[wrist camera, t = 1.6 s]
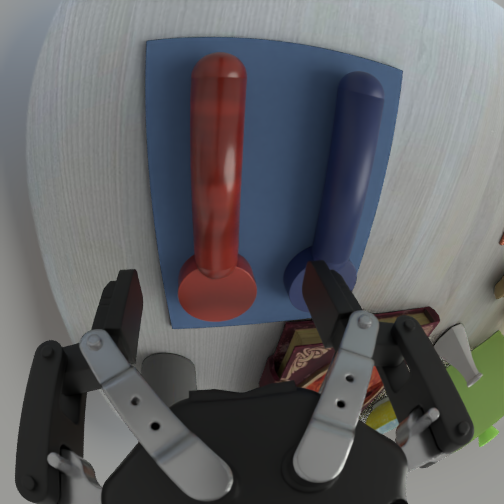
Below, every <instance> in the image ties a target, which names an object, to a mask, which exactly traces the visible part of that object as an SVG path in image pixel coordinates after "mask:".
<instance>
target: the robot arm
mask: <svg viewBox="0 0 504 504" xmlns="http://www.w3.org/2000/svg"><path fill="white" fill-rule="evenodd" d="M302 295H303V298H304V301H305V303H306V305H307V308H308V310H309V312H310V315H311V317H312V319H313V322H314V324H315V326H316V329H317V331H318V333H319V336H320V338H321V340H322V343H323V345H324V347H325V349H326V348H332V347H333V348H334V350H335V352H334V355H333V357H332V360H331V362H330V365H329V367H328V370H327V372H326V375H325V377H324V380H323V382H322V384H321V386H320V389H319V391H318V392H315V391H313V390H310V389H306V388H301V387H296V385H295V381H294V380H291V381H285V382H278V383H271V384H267V385H264V386H262V387H259V388H256V389H254V390H251V391H248V392H245V393H239V392H231V391H224V390H217V389H212V390H193V391H189V398H186V399H183V400H181V401H178V402H176V403H175V404H173V405H171V406H170V407H169V408H168V407H167V405H166V404H165V403H164V402H163V401H162V400H161V399H160V397H159V396H158V395H157V394H156V393H155V392H154V390H153V389H152V388H151V387H150V385H149V384H148V383H147V382H146V381H145V379H144V378H143V377H142V376H141V374H140V373H139V372H138V370H137V369H136V368H135V367H134V366H131V365H130V364H136V355H137V346H138V338H139V331H140V323H141V317H142V310H143V296H142V291H141V287H140V283H139V279H138V274H137V271H136V269H130V270H120V271H119V274H118V277H117V280H116V281H110V282H109V283H108V284H107V286H106V287H105V288H104V290H103V293H102V296H101V299H100V302H99V306H98V308H97V312H96V315H95V319H94V322H93V326H92V329H91V330H90V331H88V332H87V333H85V334H84V335H83V336H82V338H81V340H80V343H77V344H74V345H70V346H66V347H61V345H60V344H59V343H58V342H57V341H53V340H49V341H46V342H44V343H42V344H41V345H40V346H39V347H38V348H37V350H36V352H35V355H34V359H33V363H32V366H31V370H30V374H29V378H28V383H27V387H26V392H25V397H24V402H23V408H22V413H21V419H20V426H19V434H18V443H17V452H16V468H15V483H16V487H17V489H18V491H19V493H20V494H21V495H22V496H23V497H24V498H25V499H26V500H28V501H30V502H33V503H36V504H408V503H407V499H406V479H407V472H410V471H412V470H414V469H416V468H418V467H419V468H426V467H429V466H431V465H433V464H434V463H436V462H438V461H440V460H442V459H443V458H445V457H447V456H448V455H450V454H452V453H454V452H455V451H457V450H458V449H460V448H462V447H463V446H465V445H466V444H468V443H469V442H470V441H471V440H472V438H473V435H474V425H473V422H472V420H471V418H470V416H469V413H468V411H467V409H466V407H465V405H464V403H463V401H462V399H461V397H460V395H459V393H458V391H457V389H456V387H455V385H454V383H453V381H452V379H451V377H450V375H449V373H448V372H447V370H446V368H445V366H444V364H443V362H442V361H441V359H440V357H439V355H438V354H437V352H436V350H435V348H434V347H433V345H432V343H431V342H430V340H429V338H428V336H427V335H426V333H425V332H424V330H423V328H422V327H421V325H420V323H419V322H418V321H417V320H416V319H415V318H413V317H411V316H408V315H401V316H399V317H397V319H396V320H395V322H394V323H388V322H380V321H378V319H377V318H376V317H375V316H374V315H373V314H372V313H370V312H367V311H363V310H362V308H361V306H360V305H359V303H358V301H357V300H356V298H355V297H354V295H353V293H352V292H351V290H350V288H349V287H348V285H346V282H345V280H344V279H343V277H342V276H341V275H340V274H339V273H338V272H336V271H335V270H330V269H329V267H328V266H327V264H326V263H325V261H324V260H314V261H308V262H307V265H306V269H305V274H304V279H303V284H302ZM403 359H405V361H406V363H407V365H408V367H409V370H410V372H409V370H408V368H407V366H406V364H405V362H404V360H403ZM373 366H376V369H377V371H378V373H379V376H380V378H381V380H382V383H383V385H384V388H385V390H386V392H387V395H388V397H389V400H390V402H391V405H392V407H393V410H394V412H395V415H396V418H397V420H398V423H399V425H398V426H397V429H396V439H395V441H396V443H395V442H394V441H392V440H391V439H389V438H388V437H386V436H384V435H383V434H381V433H379V432H378V431H376V430H375V429H373V428H371V427H370V426H368V425H367V424H365V423H363V422H362V421H360V420H359V416H360V413H361V409H362V406H363V403H364V400H365V396H366V393H367V389H368V386H369V382H370V378H371V374H372V370H373ZM101 388H102V390H103V391H104V393H105V394H106V396H107V397H108V399H109V400H110V402H111V403H112V405H113V406H114V408H115V409H116V411H117V412H118V414H119V415H120V417H121V418H122V419H123V421H124V422H125V424H126V425H127V426H128V428H129V429H130V430H131V432H132V433H133V434H134V436H135V437H136V438H137V440H138V441H139V442H138V444H137V445H136V446H135V447H134V448H133V450H132V451H131V452H130V453H129V454H128V455H127V457H126V458H125V459H124V460H123V461H122V462H121V464H120V465H119V466H118V467H117V468H116V470H115V471H114V472H113V473H112V474H111V475H110V476H109V478H108V479H107V480H106V481H105V483H104V485H103V488H102V487H101V486H100V485H99V483H98V482H97V480H96V476H95V471H94V469H93V467H92V466H91V464H90V463H89V462H87V461H86V460H85V459H83V446H84V421H85V408H86V397H87V392H89V391H93V390H97V389H101Z"/></svg>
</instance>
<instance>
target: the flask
mask: <svg viewBox="0 0 504 504" xmlns="http://www.w3.org/2000/svg"><path fill="white" fill-rule="evenodd" d="M434 348H435V350H436V352H437V354H438V355H439V356H440V357H441V358H443V359H444V360H446V361H447V362H448V363H449V364H451V365H452V366H453V367H455V368H456V369H457V370H458V371H459V372H460V373H461V374H462V376H463V377H464V378H465V380H466V382H467V387H470V386H472V385H473V384H474V383H476V382H477V381H478V380H479V379H480V378H481V377H482V376H483V375H482V374H481V373H479V371H478V370H477V368H476V366H475V363H474V361H473V358H472V354H471V351H470V347H469V343H468V339H467V335H466V331H465V327H464V326H463V324H459V325H457V326H454V327H452V328H451V329H449V330H448V331H447V332H446V333H445V334H444V335H443V336H442V337H441V338H440V339H439V340H438V341H437V343H436V344H435V345H434Z"/></svg>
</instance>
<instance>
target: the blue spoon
mask: <svg viewBox="0 0 504 504" xmlns="http://www.w3.org/2000/svg"><path fill="white" fill-rule="evenodd" d="M384 97H385V94H384V89H383V87H382V85H381V83H380V82H379V81H378V79H377V78H376V77H374V76H373V75H371V74H369V73H367V72H363V71H354V72H350V73H348V74H346V75H345V76H344V77H343V78H342V79H341V80H340V82H339V84H338V89H337V97H336V106H335V114H334V121H333V129H332V136H331V143H330V150H329V156H328V163H327V169H326V175H325V181H324V187H323V193H322V198H321V204H320V209H319V215H318V220H317V225H316V230H315V236H314V240H313V245H312V246H311V247H308V248H306V249H304V250H303V251H301V252H300V253H298V254H297V255H296V256H295V257H294V258H293V259H292V260H291V261H290V262H289V264H288V265H287V267H286V269H285V272H284V276H283V282H284V286H285V289H286V291H287V294H288V297H289V299H290V302H291V304H292V305H293V306H294V307H295V308H296V309H298V310H300V311H303V312H307V313H310V312H309V310H308V308H307V305H306V303H305V301H304V298H303V295H302V284H303V279H304V274H305V269H306V265H307V262H308V261H314V260H324V261H325V263H326V264H327V266H328V267H329V269H330V270H335V271H336V272H338V273H339V274H340V275H341V276H342V277H343V279H344V280H345V282H346V285H348V287H349V288H350V290H351V291H352V290H353V288H354V286H355V283H356V279H357V272H356V269H355V267H354V265H353V264H352V262H351V261H350V259H349V258H350V254H351V251H352V248H353V244H354V241H355V237H356V233H357V230H358V226H359V222H360V218H361V215H362V211H363V207H364V203H365V198H366V194H367V190H368V186H369V181H370V177H371V172H372V167H373V163H374V158H375V153H376V147H377V142H378V136H379V131H380V125H381V119H382V112H383V106H384Z"/></svg>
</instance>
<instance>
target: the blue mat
mask: <svg viewBox="0 0 504 504" xmlns="http://www.w3.org/2000/svg"><path fill="white" fill-rule="evenodd" d="M215 52H225V53H229V54H232V55H234V56H236V57H237V58H238V59H239V60H240V61H241V62H242V63H243V64H244V66H245V68H246V72H247V86H246V103H245V121H244V139H243V159H242V179H241V201H240V224H239V249H238V254H240V255H241V256H243V257H244V258H245V259H246V260H247V261H248V263H249V264H250V266H251V268H252V271H253V275H254V278H255V282H256V286H257V295H256V298H255V301H254V303H253V304H252V306H251V307H250V308H249V309H248V310H247V311H246V312H245V313H243V314H242V315H240V316H238V317H236V318H234V319H231V320H227V321H221V322H209V321H203V320H200V319H197V318H195V317H193V316H191V315H190V314H188V313H187V312H186V311H185V310H184V309H183V308H182V306H181V305H180V302H179V299H178V278H179V272H180V269H181V267H182V266H183V264H184V263H185V262H186V261H187V260H188V259H189V258H190V257H191V256H193V255H195V254H194V238H193V221H192V198H191V165H190V93H191V73H192V70H193V68H194V66H195V65H196V63H197V62H198V61H199V60H200V59H201V58H203V57H204V56H206V55H208V54H211V53H215ZM354 71H363V72H367V73H369V74H371V75H373V76H374V77H376V78H377V79H378V81H379V82H380V83H381V85H382V87H383V89H384V94H385V97H384V106H383V112H382V119H381V125H380V131H379V136H378V142H377V147H376V153H375V158H374V163H373V167H372V172H371V177H370V181H369V186H368V190H367V194H366V198H365V203H364V207H363V211H362V215H361V218H360V222H359V226H358V230H357V233H356V237H355V241H354V244H353V248H352V251H351V254H350V258H349V259H350V261H351V262H352V264H353V265H354V267H355V269H356V272H358V269H359V266H360V263H361V260H362V257H363V254H364V250H365V247H366V244H367V241H368V237H369V234H370V231H371V227H372V224H373V220H374V217H375V213H376V209H377V206H378V202H379V198H380V194H381V190H382V186H383V182H384V178H385V173H386V169H387V165H388V160H389V155H390V150H391V145H392V140H393V135H394V129H395V124H396V118H397V112H398V105H399V98H400V91H401V83H402V74H403V71H402V70H399V69H397V68H394V67H391V66H388V65H385V64H382V63H379V62H375V61H372V60H369V59H365V58H362V57H358V56H354V55H350V54H346V53H342V52H338V51H334V50H329V49H324V48H319V47H314V46H309V45H303V44H296V43H290V42H282V41H274V40H264V39H252V38H235V37H187V38H170V39H158V40H149V41H147V43H146V75H145V100H146V134H147V152H148V166H149V179H150V189H151V199H152V208H153V217H154V225H155V233H156V240H157V247H158V254H159V260H160V266H161V272H162V278H163V284H164V289H165V295H166V300H167V305H168V310H169V315H170V320H171V325H172V329H186V328H206V327H222V326H236V325H248V324H260V323H270V322H280V321H289V320H298V319H306V318H312V317H311V315H310V313H307V312H303V311H300V310H298V309H296V308H295V307H294V306H293V305H292V304H291V302H290V299H289V297H288V294H287V291H286V289H285V286H284V282H283V276H284V272H285V269H286V267H287V265H288V264H289V262H290V261H291V260H292V259H293V258H294V257H295V256H296V255H297V254H298V253H300V252H301V251H303V250H304V249H306V248H308V247H311V246H312V245H313V240H314V236H315V230H316V225H317V220H318V215H319V209H320V204H321V198H322V193H323V187H324V181H325V175H326V169H327V163H328V156H329V150H330V143H331V136H332V129H333V121H334V114H335V106H336V97H337V89H338V84H339V82H340V80H341V79H342V78H343V77H344V76H345V75H346V74H348V73H350V72H354Z"/></svg>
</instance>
